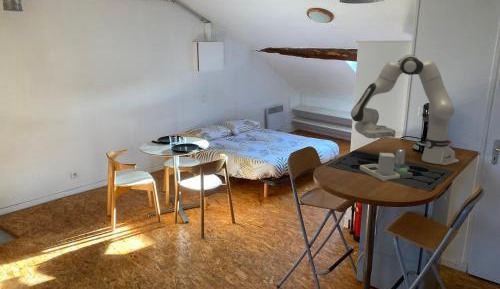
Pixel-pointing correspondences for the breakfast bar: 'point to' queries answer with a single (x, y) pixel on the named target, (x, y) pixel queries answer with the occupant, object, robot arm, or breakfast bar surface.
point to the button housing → (402, 176)
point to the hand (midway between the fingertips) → (388, 136)
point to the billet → (399, 158)
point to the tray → (399, 168)
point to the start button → (403, 170)
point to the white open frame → (375, 172)
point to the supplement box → (386, 164)
